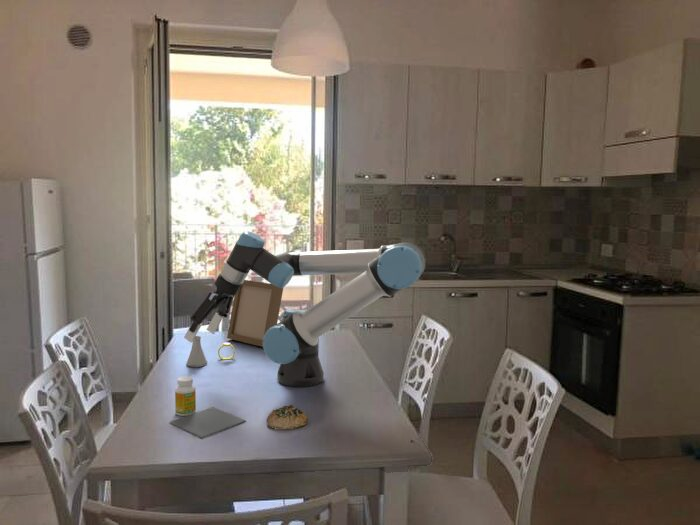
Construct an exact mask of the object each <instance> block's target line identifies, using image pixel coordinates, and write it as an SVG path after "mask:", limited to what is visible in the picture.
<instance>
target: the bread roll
mask: <svg viewBox="0 0 700 525" xmlns="http://www.w3.org/2000/svg"><path fill="white" fill-rule="evenodd" d="M308 422H309V420H308V417H307V415H306V414H305V412H304V411H303V410H301V409H299V408H298V407H296V406H294V405H293V404H289V405H283V406H282V407H280V408H276V409H273V410H272V411H271V412H270V413H269V414H268V416H267V419H266V423H267V426H268V427H269V428H270V427H272V428H271V429H273V428H276V429H292V430H294V429H293V428H296V429H298V428H300V427H301V426H302V427H304V426H305V425H306V424H307V423H308ZM303 425H304V426H303ZM297 427H298V428H297Z"/></svg>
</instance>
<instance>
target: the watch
mask: <svg viewBox="0 0 700 525" xmlns="http://www.w3.org/2000/svg"><path fill="white" fill-rule="evenodd" d="M223 347H231V348H232V349H233V354H232V355H231V356H230V357H222V356H221V354H220V351H221V349H222V348H223ZM217 354H218V358H220V360H223V361H225V360H224V359H226V360H228V359H229V360H233V358H234V357H235V355H236V350H235V347H234V346H233V345H232V344H231V342H223V343H222V344H221V345H220V346H219V348H218V350H217Z"/></svg>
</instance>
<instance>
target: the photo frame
mask: <svg viewBox="0 0 700 525" xmlns="http://www.w3.org/2000/svg"><path fill="white" fill-rule="evenodd" d="M283 293H284V287H283V288H278V287H277V286H275V285H272V284H271V283H269V282H262V281H256V280H249V279H245V280H244V282H243V283H242V284H241V287H240V289H239V291H238V292H237V294H236V295H235V296H234V298H233V301H232V307H231V313H230V319H229V323H228V329H227V336H226V338H227V339H229V340H234V341H236V342H242V343H245V344H250V345H252V346H253V345H254V346H259V347H262V348H263V337H264V335H265V333H266V332H267V331H268V329H269V328H270V327H272V326H275V325H276V324H278V323H279V321H278V320H279V314H280V311H281V310H280V309H281V303H282V299H283Z"/></svg>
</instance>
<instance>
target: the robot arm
mask: <svg viewBox="0 0 700 525" xmlns="http://www.w3.org/2000/svg"><path fill="white" fill-rule="evenodd" d="M265 243H266V242H265V240H264V239H263V238H262V237H261V236H259V235H258V234H256V233H255V232H252V231H243V232H242V233H241V234H240V236H239V238H238V239H237V240H236V242H235V244H234V245H233V248H232V250H231V251H230V254H229V256H228V257H227V259H226V262H223V267H222V269H221V271H220V273H219V274H218V275H217V277H216V279H215V281H214V286H215V288H216V290H215V291H214V292H212V291H210V292H209V293H208V295H207V297H206V298H205V299H204V300H203V302H202V303H201V304H200V305H199V307H198V308H197V309H196V310H195V312H194V313H193V314H192V315H191V316H190V320H191V321H192V322H191V324H190V325H189V327H188V329H187V331H186V333H185V335H184V336H183V338H184V339H185V340H186V341H188V342H189V343H193V340H194V338H195V336H197V334H198V333H199V330H200V329H201V327H202V323H203V322H204V321H205V319H207V317H208V316H209V315H210V314H211V313H212V312H213V311H214V310H215V309H217V312H215V313H214V315H213V317H212V318H211V320H210V322H209V324H208V326H207V328H206V331H208V332H210V334H212V335H214V334H215V333H216V332H217V329H218V327H219V326H220V324H221V322H222V320H223V318H227V317H228V314H229V312H230V311H231V309H232V307H231V306H232V305H233V301H234V296H235V295H236V294H237V292H238V291H239V289H240V287H241V284H242V283H243V282H244V280H246V279H247V277H248V274H249V273H250V271H252V272H254V273H255V274H257V275H258V276H260V278H262V279H264V280H266V281H267V283H269V284H272V285H275V286H277V287H278V288H283V289H284V288H285V287H286V286H287V285H288V284H289V283H290V281H291V279H292V278H293V277H296V276H297V277H298V276H321V275H322V276H323V275H325V276H327V275H328V276H329V275H357V276H356V277H355V278H353V279H352V280H350V281H348V282H347V283H346V284H344V285H342V286H341V287H340V288H338V289H336V290H335V291H333V292H332V293H330V294H329V295H327V296H326V297H325V298H323V299H322V300H320V301H319V302H317V303H315V304H314V305H312V307H310V308H308V309H307V310H306V309H286V310H284V311H283V314H282V320H280V321H279V322H277V324H276V325H275V326H272V327H270V328H269V329H268V331H267V332H266V333H265V335H264V337H263V347H262V348H263V351H264V353H265V355H266V356H267V358H269V360H270V361H271V362H273V363H276V364H278V365H279V367H278V371H277V376H276V378H277V379H276V380H277V382H278V383H280V384H281V385H284V386H288V387H298V388H299V387H311V386H315V385H318V384H321V383H322V382H323V381H324V369H323V366H322V364H321V361H320V357H319V356H320V355H319V348H320V347H319V346H320V345H319V344H320V337H321V336H322V335H325V333H327V332H330V331H331V330H332V329H333V328H335V327H337V326H338V325H340V324H341V323H342V322H344V321H346V320H348V319H349V318H350V317H352V316H354V315H355V314H357V313H358V312H360V311H361V310H363V309H364V308H366V307H367V306H369V305H370V304H372V303H374V302H376V301H378V299H380V298H382V297H383V296H385V297H389V298H391V297H392V296H394V295H396V294H398V293H399V292H401V291H402V290H404V289H406V288H409V287H411V286H413V285H414V284H415V283H416V282H417V281H418V280H419V279H420V277H421V275H423V273H424V272H425V270H426V266H427V258H426V257H427V256H426V254H425V252H424V250H423V249H422V248H421V247H420V246H419V245H418V244H416V243H413V242H410V241H405V242H404V241H403V242H400V243H394V244H386V245H385V244H382V245H381V246H380V247H379V248H366V249H364V248H363V249H362V248H361V249H344V250H343V249H340V250H316V251H301V252H300V251H298V252H297V251H292V250H291V251H286V252H285V251H284V252H283V253H279V254H277V255H275V254H273V253H271V252H269V250H267V249H266V248H264V247H265ZM358 274H359V275H358Z"/></svg>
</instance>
